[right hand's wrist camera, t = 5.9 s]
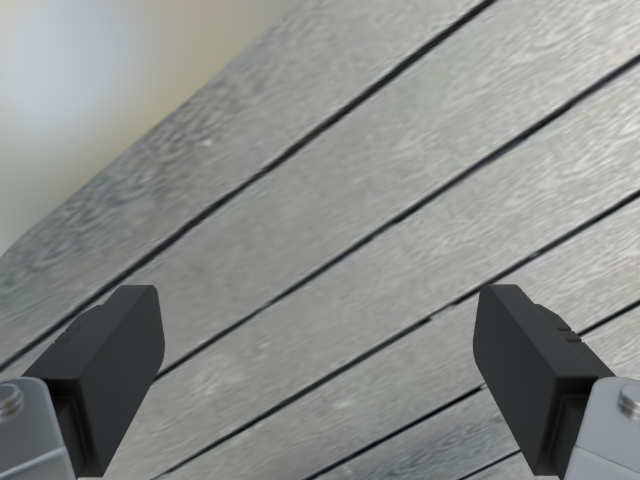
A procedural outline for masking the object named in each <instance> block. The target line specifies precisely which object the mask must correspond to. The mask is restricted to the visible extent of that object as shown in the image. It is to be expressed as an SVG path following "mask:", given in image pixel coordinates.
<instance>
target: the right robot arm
mask: <svg viewBox="0 0 640 480" xmlns="http://www.w3.org/2000/svg"><path fill="white" fill-rule="evenodd" d="M164 351H165V340H164V333H163V326H162V319H161V312H160V305H159V299H158V293H157V290H156V288H155V287H154V286H153V285H121V286H120V287H118V289H117V290H116V291H115V292H114V293H113V294H112V295H111V296H110V297H109V299H108V300H107V301H106V302H105V303H104V304H103V305H97V306H95V307H94V308H92V309H90V310H88V311H87V312H85V313H83V314H81V315H80V316H78V317H77V318H76V319H75V320H74V321H73V322H72V323H71V325H70V326H69V327H68V328H67V329H66V332H63V333H62V334H61V335H60V336H59V337H58V338H57V339H56V340H55V343H52V344H51V345H50V346H49V348H48V349H47V350H46V351H45V352H44V353H43V354H42V355H41V356H40V357H39V358H38V359H37V360H36V361H35V362H34V363H33V364H32V365H31V366H30V367H29V368H28V369H27V371H26V372H25V373H24V374H23V375H22V376H21V377H16V378H10V379H6V380H2V381H0V480H77V479H78V477H103V475H104V473H105V471H106V469H107V467H108V466H109V464H110V462H111V460H112V458H113V456H114V454H115V452H116V450H117V448H118V447H119V445H120V443H121V441H122V439H123V437H124V435H125V433H126V431H127V429H128V428H129V426H130V424H131V422H132V420H133V418H134V416H135V414H136V412H137V410H138V409H139V407H140V405H141V403H142V401H143V399H144V397H145V395H146V393H147V391H148V390H149V388H150V386H151V384H152V382H153V380H154V378H155V376H156V374H157V372H158V371H159V369H160V367H161V365H162V362H163V358H164ZM473 353H474V358H475V362H476V364H477V367H478V369H479V370H480V372H481V374H482V376H483V378H484V380H485V382H486V384H487V386H488V388H489V390H490V392H491V394H492V395H493V397H494V399H495V401H496V403H497V405H498V407H499V409H500V411H501V413H502V415H503V417H504V419H505V420H506V422H507V424H508V426H509V428H510V430H511V432H512V434H513V436H514V438H515V440H516V442H517V444H518V445H519V447H520V449H521V451H522V453H523V455H524V457H525V459H526V461H527V463H528V465H529V467H530V469H531V470H532V472H533V474H534V476H558V477H559V479H560V480H640V381H638V380H634V379H630V378H624V377H617V376H616V375H615V374H614V373H613V372H612V371H611V370H610V369H609V368H608V367H607V366H606V365H605V364H604V363H603V362H602V361H601V360H600V359H599V357H598V356H597V355H596V354H595V353H594V352H593V351H592V350H591V349H590V348H589V347H588V346H587V345H586V344H585V343H584V342H582V341H581V338H580V337H579V336H578V335H577V334H576V333H575V332H574V331H571V328H570V327H569V326H568V325H567V324H566V323H565V322H564V321H563V319H562V318H561V317H560V316H559V315H557V314H555V313H554V312H552V311H550V310H548V309H547V308H545V307H543V306H542V305H540V304H534V303H533V302H532V301H531V300H530V299H529V298H528V297H527V295H526V294H525V293H524V292H523V291H522V290H521V289H520V288H519V287H518V286H517V285H514V284H485V285H483V286H482V288H481V291H480V295H479V302H478V309H477V316H476V322H475V329H474V336H473Z"/></svg>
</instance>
